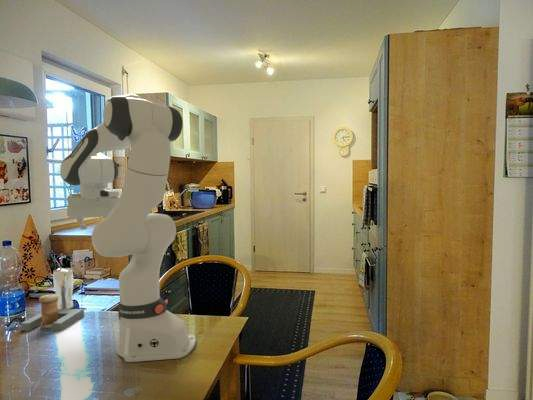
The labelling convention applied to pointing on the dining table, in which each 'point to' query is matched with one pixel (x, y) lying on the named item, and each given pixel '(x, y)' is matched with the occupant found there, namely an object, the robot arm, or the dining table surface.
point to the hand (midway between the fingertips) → (95, 229)
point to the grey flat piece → (64, 321)
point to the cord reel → (49, 310)
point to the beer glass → (64, 287)
